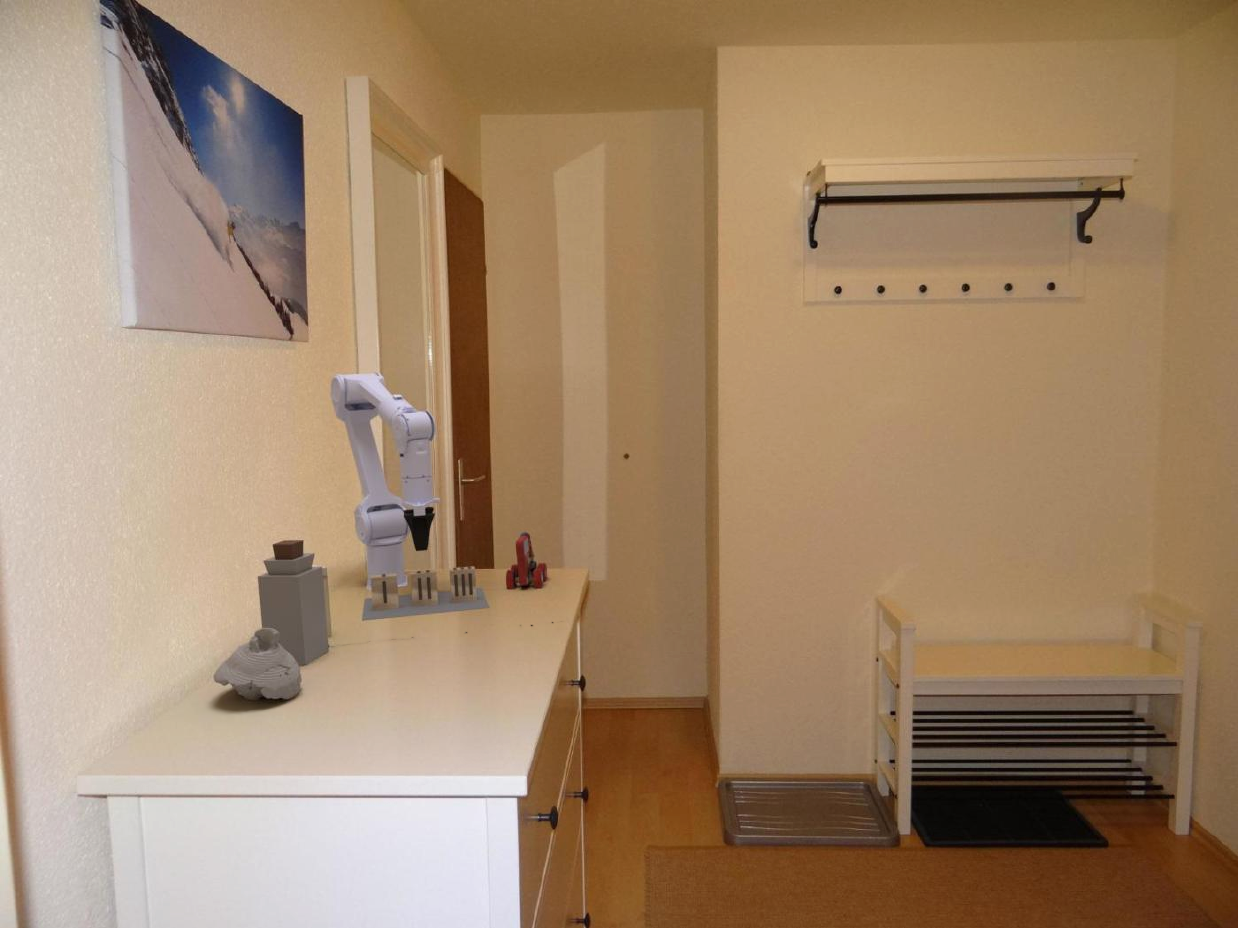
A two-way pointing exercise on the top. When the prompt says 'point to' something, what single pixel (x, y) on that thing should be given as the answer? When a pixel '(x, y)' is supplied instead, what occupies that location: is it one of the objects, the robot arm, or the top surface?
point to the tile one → (384, 591)
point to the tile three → (463, 584)
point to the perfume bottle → (294, 601)
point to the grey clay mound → (261, 668)
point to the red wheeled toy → (525, 566)
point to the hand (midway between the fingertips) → (421, 548)
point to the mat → (409, 610)
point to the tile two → (424, 588)
